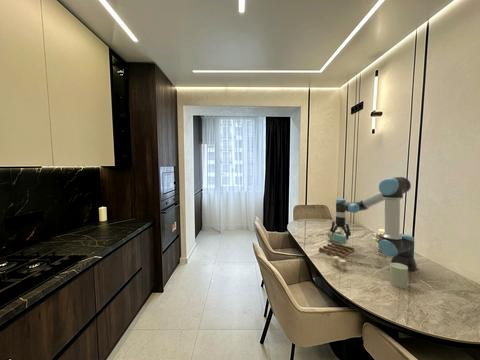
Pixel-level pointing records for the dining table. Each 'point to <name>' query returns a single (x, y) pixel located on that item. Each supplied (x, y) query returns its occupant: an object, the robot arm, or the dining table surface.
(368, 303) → the dining table surface
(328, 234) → the sugar bowl
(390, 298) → the dining table surface
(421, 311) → the dining table surface
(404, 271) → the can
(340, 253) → the slot rack
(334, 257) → the maple bar
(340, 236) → the teal bar
